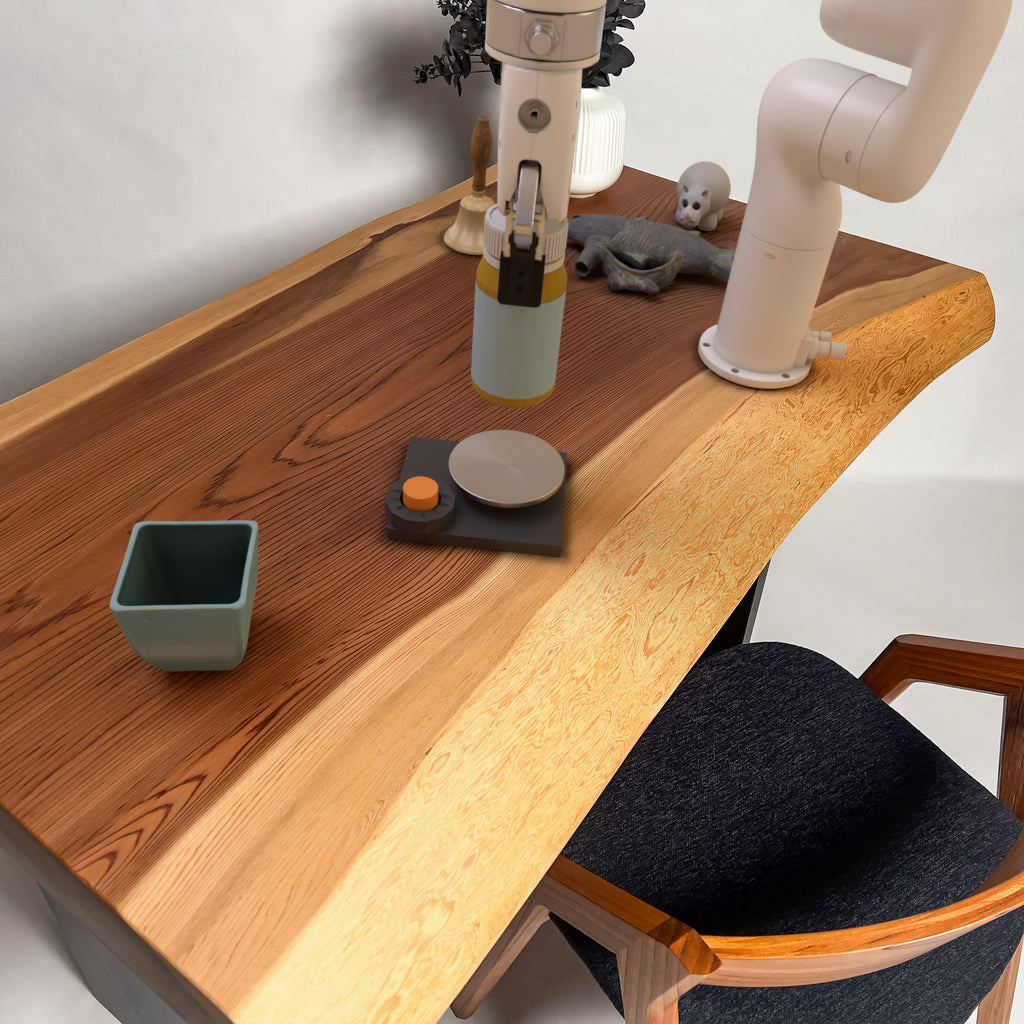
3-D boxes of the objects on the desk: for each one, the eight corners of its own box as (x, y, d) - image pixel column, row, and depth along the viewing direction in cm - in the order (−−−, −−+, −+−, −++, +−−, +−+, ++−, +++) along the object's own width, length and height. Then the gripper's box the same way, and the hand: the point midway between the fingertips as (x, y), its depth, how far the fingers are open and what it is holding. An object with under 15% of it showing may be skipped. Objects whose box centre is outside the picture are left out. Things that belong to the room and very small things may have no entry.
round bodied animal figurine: (653, 240, 130) (664, 178, 124) (679, 207, 138) (691, 148, 132) (704, 253, 128) (717, 191, 122) (728, 220, 136) (742, 160, 130)
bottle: (556, 369, 83) (576, 202, 73) (551, 416, 78) (571, 244, 68) (476, 360, 83) (485, 192, 73) (465, 406, 78) (473, 233, 68)
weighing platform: (566, 440, 90) (566, 435, 90) (561, 514, 82) (562, 508, 82) (455, 429, 90) (456, 424, 90) (441, 501, 82) (441, 496, 82)
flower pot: (156, 603, 76) (134, 519, 70) (270, 602, 77) (259, 518, 71) (132, 693, 69) (106, 609, 63) (258, 691, 70) (244, 607, 64)
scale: (565, 463, 92) (569, 439, 90) (560, 561, 82) (563, 536, 80) (406, 447, 92) (406, 422, 90) (381, 542, 82) (380, 517, 80)
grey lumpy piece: (581, 188, 127) (531, 244, 118) (764, 234, 120) (726, 297, 111) (579, 223, 131) (531, 279, 122) (756, 269, 124) (719, 332, 114)
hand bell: (515, 234, 128) (525, 112, 117) (494, 261, 122) (502, 135, 111) (457, 221, 129) (461, 100, 119) (433, 247, 123) (436, 121, 113)
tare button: (440, 491, 84) (440, 478, 83) (435, 514, 82) (435, 500, 81) (406, 488, 84) (406, 474, 83) (400, 510, 82) (400, 497, 81)
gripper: (601, 78, 55) (567, 344, 67) (603, -1, 68) (574, 233, 80) (471, 65, 55) (460, 333, 67) (498, -12, 68) (485, 224, 80)
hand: (522, 277), depth 74 cm, fingers closed on bottle, 7 cm apart
